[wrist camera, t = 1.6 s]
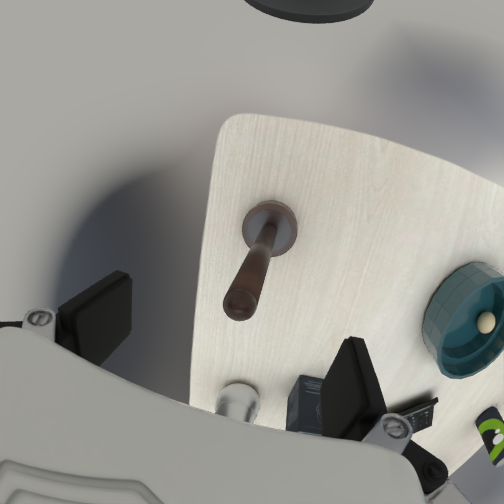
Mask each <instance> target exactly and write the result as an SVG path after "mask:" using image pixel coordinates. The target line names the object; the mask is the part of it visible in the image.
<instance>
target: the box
mask: <svg viewBox="0 0 504 504" xmlns="http://www.w3.org/2000/svg"><path fill="white" fill-rule="evenodd" d="M323 381H324V380H321V379H316V378H311V377H306V376H301V375H300V376H299V378H298V380H297V382H296V384H295V386H294V388H293V390H292V392H291V394H290V395H289V397H288V404H287V419H286V431H291V432H296V433H302V434H308V435H315V436H322V418H321V399H320V388H321V384H322V382H323Z"/></svg>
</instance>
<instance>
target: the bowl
mask: <svg viewBox="0 0 504 504" xmlns="http://www.w3.org/2000/svg"><path fill="white" fill-rule="evenodd" d="M486 311H488V312H491V313H492V314H493V315H494V317H495V326H494V328H493V329H492V331H490V332H489V333H481V332H480V331H479V330H478V327H477V320H478V318H479V316H480V315H481V314H482V313H483V312H486ZM423 339H424V343H425V345H426V347H427V349H428V350H429V352H430V354H431V356H432V357H433V359H434V361H435V362H436V364H437V366H438V368H439V369H440V371H441V373H442V374H444V375H445V376H447V377H448V378H450V379H463V378H466V377H470V376H473V375H475V374H476V373H478V372H480V371H481V370H483V369H485V368H486V367H487V366H488V365H490V364H491V363H492V362H493V361H494V360H495V359H496V358H497V357H498V356H499V355H500V354H501V352H502V351H503V350H504V274H503V273H502V272H500V271H499V270H497V269H496V268H494V267H493V266H490V265H488V264H486V263H484V262H479V263H471V264H468V265H466V266H464V267H462V268H460V269H458V270H457V271H456V272H454V273H453V274H452V275H451V276H450V277H449V278H448V279H447V280H445V282H444V283H443V284H442V285H441V287H440V288H439V289H438V291H437V292H436V294H435V295H434V297H433V299H432V301H431V303H430V305H429V307H428V309H427V311H426V315H425V319H424V324H423Z"/></svg>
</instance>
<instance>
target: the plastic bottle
mask: <svg viewBox="0 0 504 504" xmlns="http://www.w3.org/2000/svg"><path fill="white" fill-rule="evenodd" d="M259 409H260V398H259V395H258V394H257V392H256V391H255V390H254V389H253V388H252V387H250V386H248V385H246V384H241V383H234V384H231V385H228V386H226V387H225V388H223V389H222V390H221V392H220V394H219V395H218V397H217V401H216V408H215V411H216V412H215V414H218V415H222V416H225V417H229V418H232V419H236V420H240V421H244V422H248V423H252V424H253V423H254V420H255V419H256V417H257V414H258V411H259Z"/></svg>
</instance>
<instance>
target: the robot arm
mask: <svg viewBox="0 0 504 504" xmlns="http://www.w3.org/2000/svg"><path fill="white" fill-rule="evenodd" d="M131 303H132V279H131V278H130V276H129V274H127V273H124V272H122V271H119V270H116V271H114V272H113V273H111V274H110V275H108V276H106V277H105V278H103V279H102V280H100V281H98V282H97V283H95V284H94V285H92V286H90V287H89V288H87V289H86V290H84V291H83V292H81V293H80V294H78V295H77V296H75V297H74V298H72V299H70V300H69V301H68V302H66V303H64V304H63V305H61V306H60V307H58V311H59V313H57V314H55V313H54V311H52V310H50V309H48V308H43V307H40V308H34V309H32V310H30V311H28V312H27V313H26V314H25V317H24V320H23V321H16V322H0V504H472V503H471V502H470V501H469V500H468V499H467V498H466V497H465V495H464V494H463V493H462V492H461V491H460V490H459V488H458V487H457V486H456V485H455V484H454V483H453V482H452V481H450V482H448V481H447V478H448V470H447V467H446V465H445V464H444V463H443V462H442V461H441V460H440V459H438V458H437V457H435V456H434V455H432V454H431V453H429V452H428V451H426V450H425V449H424V448H422V447H421V446H419V445H418V444H416V443H415V442H414V441H412V440H411V437H412V434H413V429H412V426H411V424H410V422H409V421H408V420H407V419H406V418H405V417H403V416H401V415H399V414H396V413H388V412H387V408H386V405H385V402H384V398H383V395H382V392H381V388H380V385H379V382H378V379H377V376H376V373H375V371H374V368H373V365H372V362H371V359H370V356H369V353H368V350H367V347H366V344H365V342H364V339H362V338H357V337H352V336H350V337H349V338H348V339H344V341H343V343H342V345H341V347H340V349H339V351H338V353H337V355H336V357H335V359H334V361H333V363H332V365H331V367H330V369H329V371H328V373H327V375H326V377H325V379H324V381H323V382H322V384H321V388H320V399H321V418H322V436H315V435H308V434H302V433H296V432H291V431H285V430H280V429H275V428H270V427H265V426H261V425H256V424H252V423H248V422H244V421H240V420H236V419H232V418H229V417H225V416H222V415H218V414H215V413H211V412H208V411H205V410H202V409H199V408H196V407H193V406H190V405H187V404H184V403H181V402H178V401H175V400H173V399H170V398H168V397H165V396H162V395H160V394H157V393H155V392H152V391H150V390H148V389H145V388H143V387H141V386H138V385H136V384H134V383H131V382H129V381H127V380H125V379H123V378H120V377H118V376H116V375H114V374H112V373H110V372H108V371H106V370H104V369H102V368H100V367H99V366H100V365H101V364H102V363H103V362H104V361H105V360H106V359H107V358H108V357H109V356H110V355H111V353H112V352H113V351H114V350H115V349H116V348H117V347H118V346H119V345H120V344H121V343H122V342H123V340H125V339H126V338H127V337H128V335H129V334H130V332H131V311H132V309H131V308H132V304H131Z"/></svg>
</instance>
